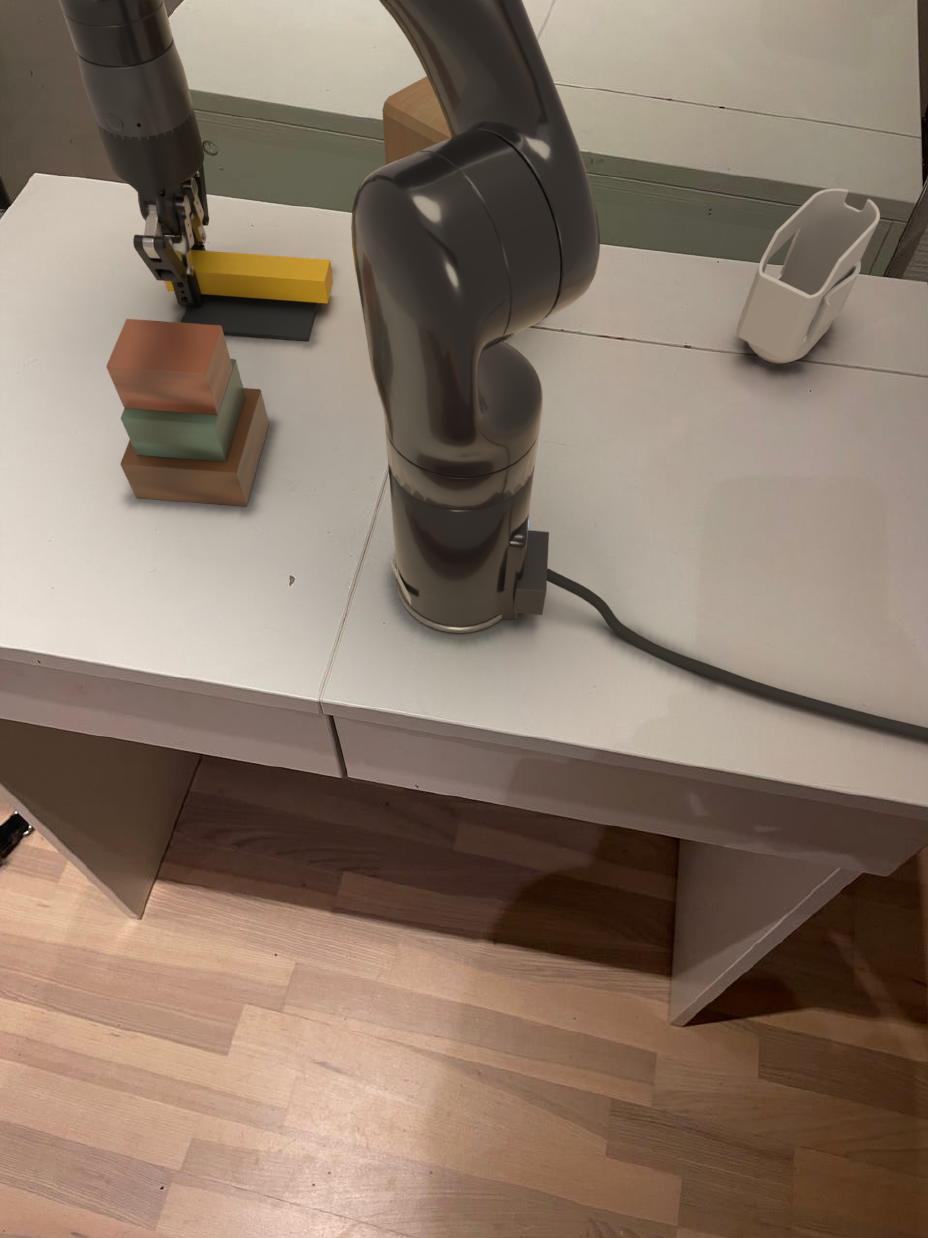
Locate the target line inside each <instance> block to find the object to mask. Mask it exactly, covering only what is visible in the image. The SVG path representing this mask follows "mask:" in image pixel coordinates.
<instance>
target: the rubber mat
mask: <svg viewBox="0 0 928 1238" xmlns="http://www.w3.org/2000/svg"><path fill="white" fill-rule="evenodd" d="M202 297H203V302H202V305H201V307H200V308H191V307H185V309H184V312H183V315H182V318H181V320H180V323H192V324H206V325H220V326H222V330H223V333H224V336H236V337H249V338H263V339H276V340H289V341H292V340H293V341H302V342H303V341H304V342H305V341H306V342H309V341H310V337H311V333H312V330H313V325H314V321H315V317H316V314H317V310H318V306H319V303H315V302H301V301H288V300H275V299H262V298H248V297H235V296H222V295H208V294H202Z"/></svg>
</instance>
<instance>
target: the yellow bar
mask: <svg viewBox="0 0 928 1238" xmlns="http://www.w3.org/2000/svg"><path fill="white" fill-rule="evenodd" d="M175 253H176V254H177V256H178V257H179V259H180V260H182V257H181V254H180V252H178V251H175ZM191 255H192V260H193V265H194V269H195V274H196V277H197V281H198V284H199V288H200V291H201V294H208V295H222V296H235V297H248V298H262V299H275V300H288V301H301V302H315V303H318V304H328V303H329V300H330V296H331V292H332V288H333V284H334V279H333V272H332V271H333V270H332V265H331V264H332V262H331V259H324V258H323V259H322V258H311V257H295V256H283V255H269V254H256V253H255V254H254V253H241V252H229V251H215V250H206V251H202V250H191ZM163 282H164V284H165V288H166V290H167V292H170V293H175V292H174V288H173V285H172V282H171V281H163Z"/></svg>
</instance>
